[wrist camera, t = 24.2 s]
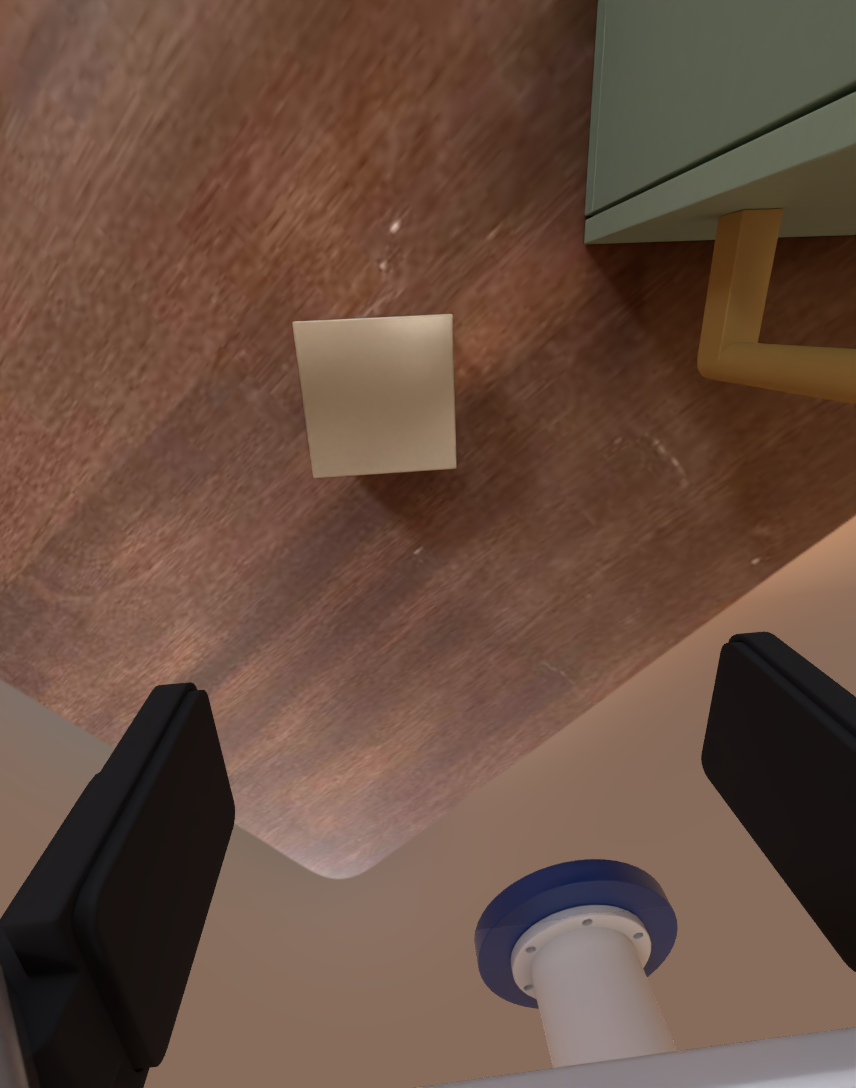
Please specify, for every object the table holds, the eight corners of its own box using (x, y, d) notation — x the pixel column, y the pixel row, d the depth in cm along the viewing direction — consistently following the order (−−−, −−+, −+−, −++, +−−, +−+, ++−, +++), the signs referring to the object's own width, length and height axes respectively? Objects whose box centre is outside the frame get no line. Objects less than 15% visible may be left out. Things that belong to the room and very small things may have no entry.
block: (440, 439, 28) (456, 469, 22) (325, 447, 27) (313, 478, 22) (436, 315, 25) (452, 313, 20) (309, 321, 25) (291, 321, 19)
